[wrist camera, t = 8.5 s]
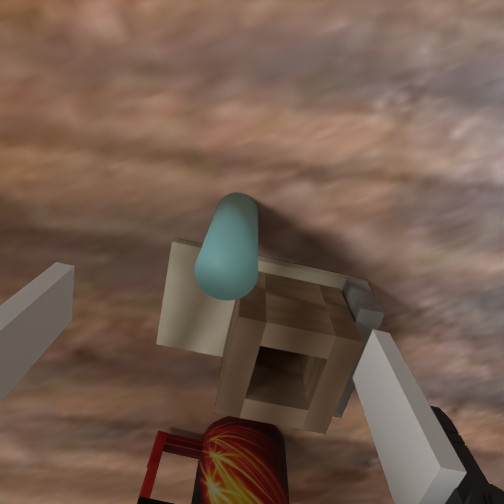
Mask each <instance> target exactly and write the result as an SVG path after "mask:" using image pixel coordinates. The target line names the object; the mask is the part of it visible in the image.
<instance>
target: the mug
mask: <svg viewBox="0 0 504 504" xmlns="http://www.w3.org/2000/svg"><path fill="white" fill-rule="evenodd" d="M163 451H165V452H169V453H174V454H178V455H183V456H187V457H191V458H196V459H199V461H198V467H197V473H196V479H195V485H194V491H193V497H192V503H191V504H289V492H288V479H287V466H286V454H285V442H284V439H283V436H282V434H281V432H280V431H279V430H278V429H277V428H276V427H275V426H274V425H273V424H269V423H264V422H259V421H253V420H248V419H242V418H237V417H231V416H228V417H225V418H222V419H220V420H218V421H216V422H214V423H213V424H212V425H211V426H210V427H208V429H207V430H206V431H205V433H204V435H203V438H202V441H199V440H195V439H190V438H186V437H182V436H177V435H173V434H169V433H166V432H162V431H158V433H157V436H156V439H155V442H154V446H153V449H152V452H151V455H150V459H149V462H148V465H147V468H148V469H147V472H146V475H145V479H144V482H143V485H142V489H141V492H140V495H139V499H138V502H137V504H173V503H168V502H164V501H159V500H154V499H150V495H151V492H152V488H153V484H154V481H155V477H156V473H157V470H158V466H159V463H160V459H161V455H162V452H163Z"/></svg>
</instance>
